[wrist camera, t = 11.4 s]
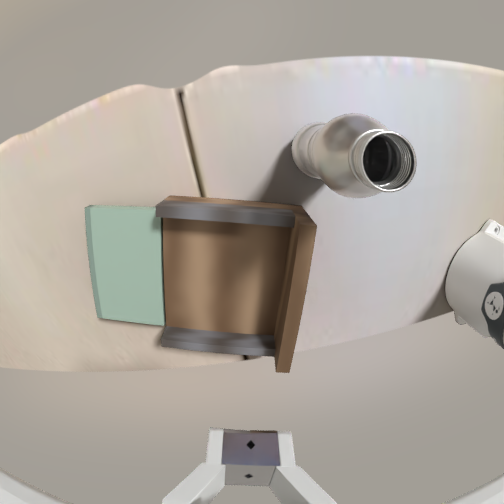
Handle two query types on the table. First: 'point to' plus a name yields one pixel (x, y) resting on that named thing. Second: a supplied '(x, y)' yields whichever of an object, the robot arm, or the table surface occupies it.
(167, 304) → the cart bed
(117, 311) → the panel
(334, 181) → the plastic bottle
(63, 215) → the table surface
